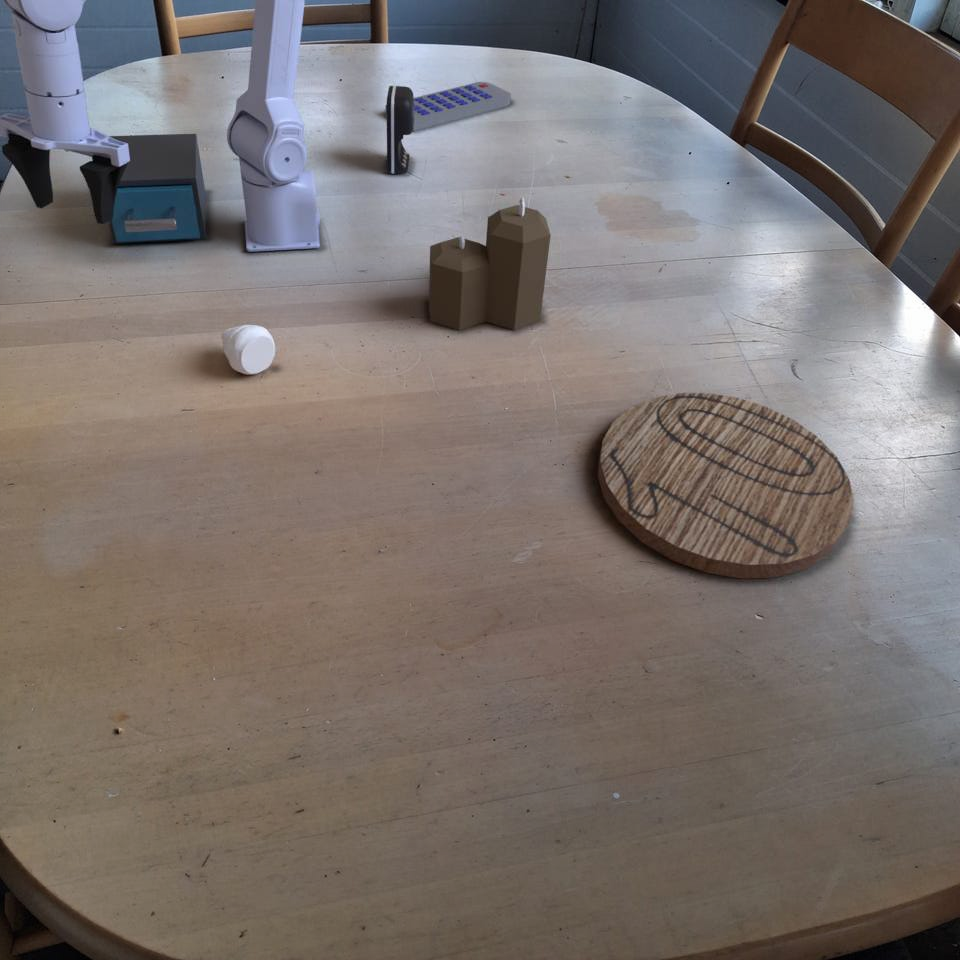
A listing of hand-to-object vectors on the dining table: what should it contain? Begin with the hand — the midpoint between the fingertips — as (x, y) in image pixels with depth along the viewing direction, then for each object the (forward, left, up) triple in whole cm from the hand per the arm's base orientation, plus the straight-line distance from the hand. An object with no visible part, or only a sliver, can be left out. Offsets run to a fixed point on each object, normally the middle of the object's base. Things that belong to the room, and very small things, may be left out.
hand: (74, 212), depth 102 cm
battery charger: (-42, -32, -11) cm, 54 cm away
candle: (-47, +8, -11) cm, 49 cm away
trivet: (-63, +43, -11) cm, 77 cm away
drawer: (-7, -15, -10) cm, 19 cm away
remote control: (-54, -53, -11) cm, 76 cm away
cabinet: (-7, -19, -11) cm, 23 cm away
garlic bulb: (-17, +16, -11) cm, 26 cm away
